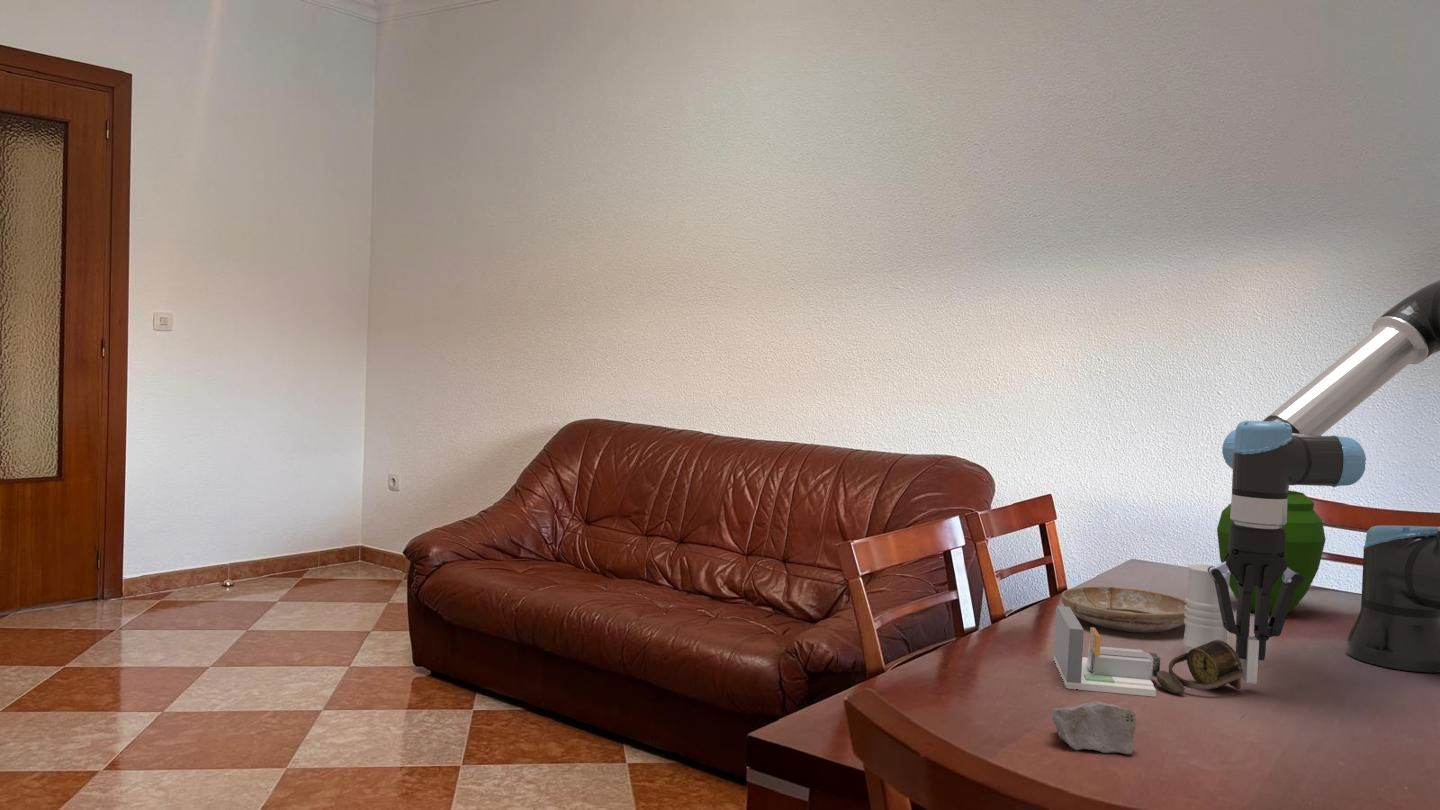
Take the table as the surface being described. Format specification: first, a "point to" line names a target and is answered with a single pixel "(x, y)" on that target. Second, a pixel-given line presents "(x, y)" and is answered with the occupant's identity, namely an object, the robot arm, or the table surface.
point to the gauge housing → (1097, 663)
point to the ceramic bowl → (1125, 608)
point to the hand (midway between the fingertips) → (1248, 680)
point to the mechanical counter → (1205, 668)
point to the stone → (1096, 727)
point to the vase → (1287, 546)
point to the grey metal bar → (1118, 653)
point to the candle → (1202, 609)
